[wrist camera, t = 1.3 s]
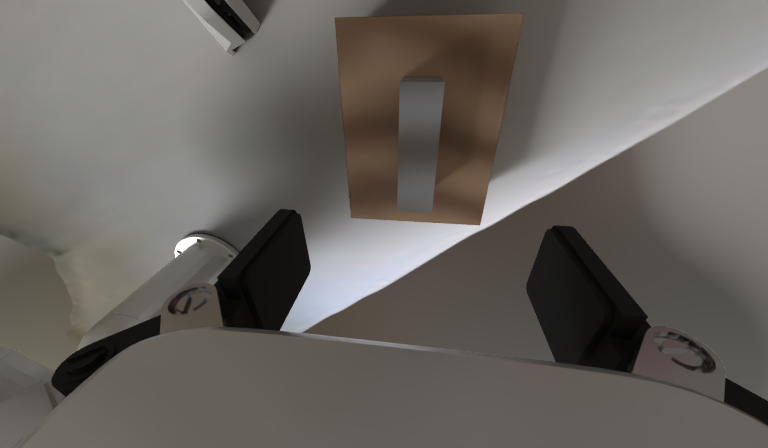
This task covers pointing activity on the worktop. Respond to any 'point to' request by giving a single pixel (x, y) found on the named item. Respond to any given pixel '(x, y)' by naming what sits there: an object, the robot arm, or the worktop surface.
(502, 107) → the lid
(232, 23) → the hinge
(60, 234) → the worktop surface
